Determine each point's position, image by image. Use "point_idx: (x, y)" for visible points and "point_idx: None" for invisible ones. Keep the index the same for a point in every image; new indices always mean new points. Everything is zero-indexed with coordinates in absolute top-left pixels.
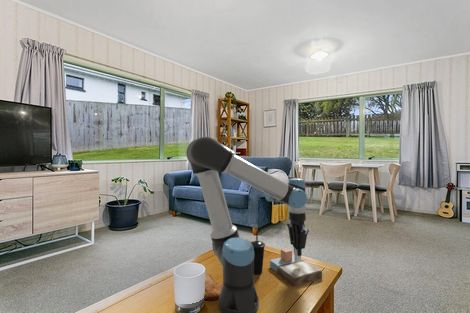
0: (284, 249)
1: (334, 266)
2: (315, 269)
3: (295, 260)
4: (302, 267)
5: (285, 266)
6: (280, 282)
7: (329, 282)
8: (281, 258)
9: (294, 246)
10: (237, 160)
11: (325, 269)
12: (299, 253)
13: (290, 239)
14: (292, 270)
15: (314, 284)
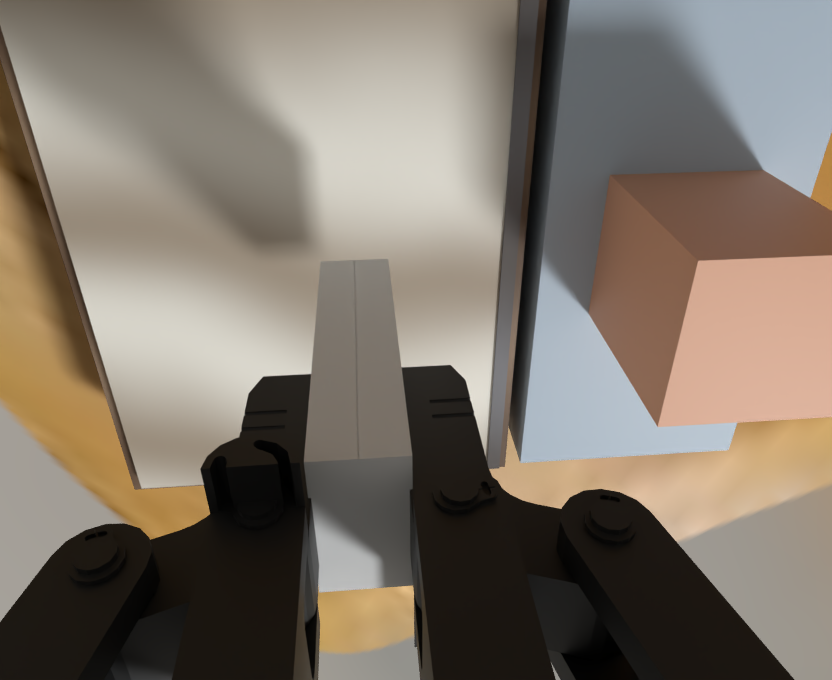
0: (823, 326)
1: (354, 650)
2: (183, 445)
3: (354, 278)
4: (308, 322)
5: (472, 63)
6: None
7: (47, 439)
8: (750, 179)
9: (419, 497)
10: None
11: None
12: (244, 431)
13: (722, 643)
14: (266, 89)
15: (29, 255)
